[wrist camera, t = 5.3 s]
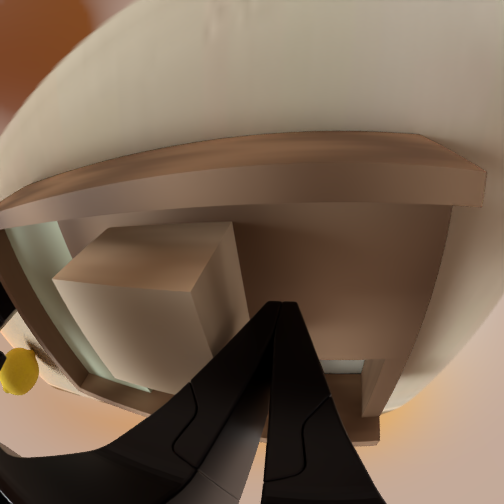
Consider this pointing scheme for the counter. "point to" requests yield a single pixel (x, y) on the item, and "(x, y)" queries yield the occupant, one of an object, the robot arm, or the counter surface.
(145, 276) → the block
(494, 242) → the counter surface
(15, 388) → the lemon
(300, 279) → the wooden compartment tray
